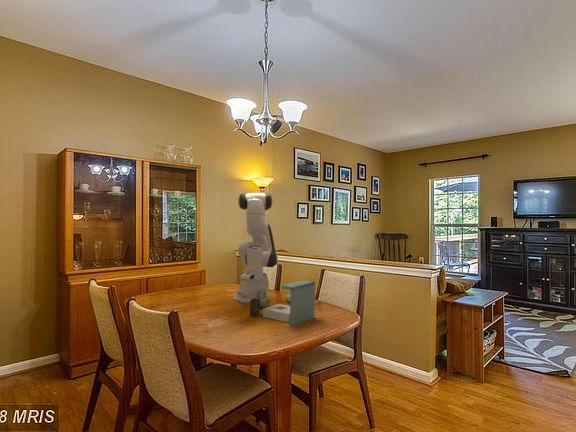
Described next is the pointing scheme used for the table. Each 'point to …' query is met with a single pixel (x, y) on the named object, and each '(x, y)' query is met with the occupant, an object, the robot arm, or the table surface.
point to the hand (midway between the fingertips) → (255, 299)
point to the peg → (255, 307)
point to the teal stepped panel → (301, 301)
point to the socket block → (277, 312)
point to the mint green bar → (288, 297)
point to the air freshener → (263, 299)
